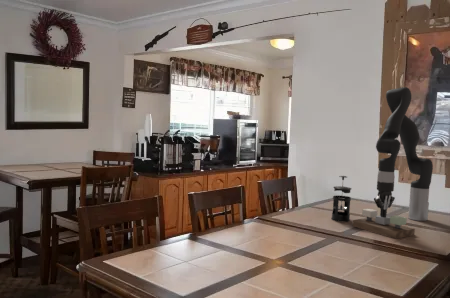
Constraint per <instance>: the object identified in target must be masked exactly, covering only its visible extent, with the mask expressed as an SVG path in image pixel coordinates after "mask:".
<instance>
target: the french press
mask: <svg viewBox="0 0 450 298" xmlns="http://www.w3.org/2000/svg"><path fill="white" fill-rule="evenodd" d="M339 178H341V179H342V183H341V185H342V186H341V185H340V186H337V185H336V186H333V188H334V190H333V191H334V192H336V191H338V192H339V191H340V192H341V195H332V199H333V203H332V204H333V205H332V206H333V207H332V212H331V217H330V218H331V221H333V222H334V221H335V222H339V223H347V222H350V221H351V219H350V216H351V214H350V210H351V200H352V198H351V196H348V195H347V196H346V195H343V194H350V193H351V190H352V187H347V186H344V180H345V179H346V178H347V176H346V175H339ZM339 201H340V202H341V203H340V205H339ZM343 202H344V204H343ZM343 205H344V206H343Z"/></svg>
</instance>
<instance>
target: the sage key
mask: <svg viewBox="0 0 450 298" xmlns="http://www.w3.org/2000/svg"><path fill="white" fill-rule="evenodd" d="M389 217H390V223H393V224H395V229H401V225H402V226H406V225H407V220H408V218H407V217H404V216H401V215H391V216H389Z"/></svg>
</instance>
